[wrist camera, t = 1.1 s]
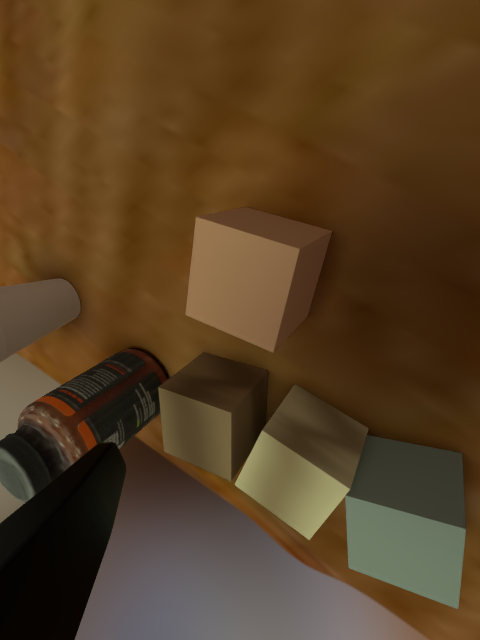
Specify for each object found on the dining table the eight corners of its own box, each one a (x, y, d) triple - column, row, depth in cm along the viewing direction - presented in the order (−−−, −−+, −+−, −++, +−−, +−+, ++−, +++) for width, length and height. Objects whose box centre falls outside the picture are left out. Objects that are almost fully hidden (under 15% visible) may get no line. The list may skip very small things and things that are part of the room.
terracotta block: (332, 230, 18) (299, 248, 14) (307, 316, 21) (273, 352, 17) (247, 206, 20) (196, 216, 16) (233, 288, 22) (185, 314, 18)
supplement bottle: (107, 352, 31) (-39, 432, 21) (154, 339, 27) (5, 427, 18) (136, 412, 32) (9, 513, 22) (185, 407, 28) (59, 523, 19)
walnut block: (268, 369, 23) (231, 412, 19) (265, 430, 25) (231, 481, 21) (204, 351, 25) (158, 387, 21) (206, 409, 27) (164, 451, 23)
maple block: (368, 427, 21) (350, 489, 17) (332, 476, 24) (309, 539, 20) (295, 383, 23) (262, 430, 19) (268, 433, 25) (234, 484, 21)
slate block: (462, 452, 19) (466, 529, 15) (456, 522, 21) (458, 609, 17) (364, 433, 22) (345, 495, 18) (366, 497, 23) (348, 567, 19)
